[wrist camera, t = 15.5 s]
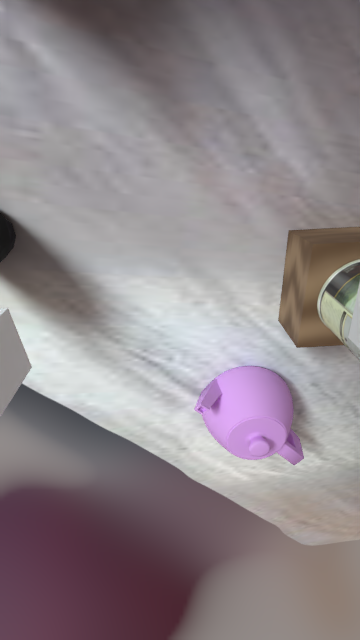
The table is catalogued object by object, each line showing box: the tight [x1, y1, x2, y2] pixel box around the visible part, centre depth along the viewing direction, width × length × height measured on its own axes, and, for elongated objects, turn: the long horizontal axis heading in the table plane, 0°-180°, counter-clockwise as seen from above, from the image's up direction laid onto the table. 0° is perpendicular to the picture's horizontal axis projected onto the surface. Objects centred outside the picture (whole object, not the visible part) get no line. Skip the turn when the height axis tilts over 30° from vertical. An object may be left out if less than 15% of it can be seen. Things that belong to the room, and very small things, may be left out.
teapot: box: [195, 366, 304, 465], centre depth 50 cm, size 22×16×12 cm
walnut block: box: [278, 227, 360, 348], centre depth 42 cm, size 14×14×8 cm
